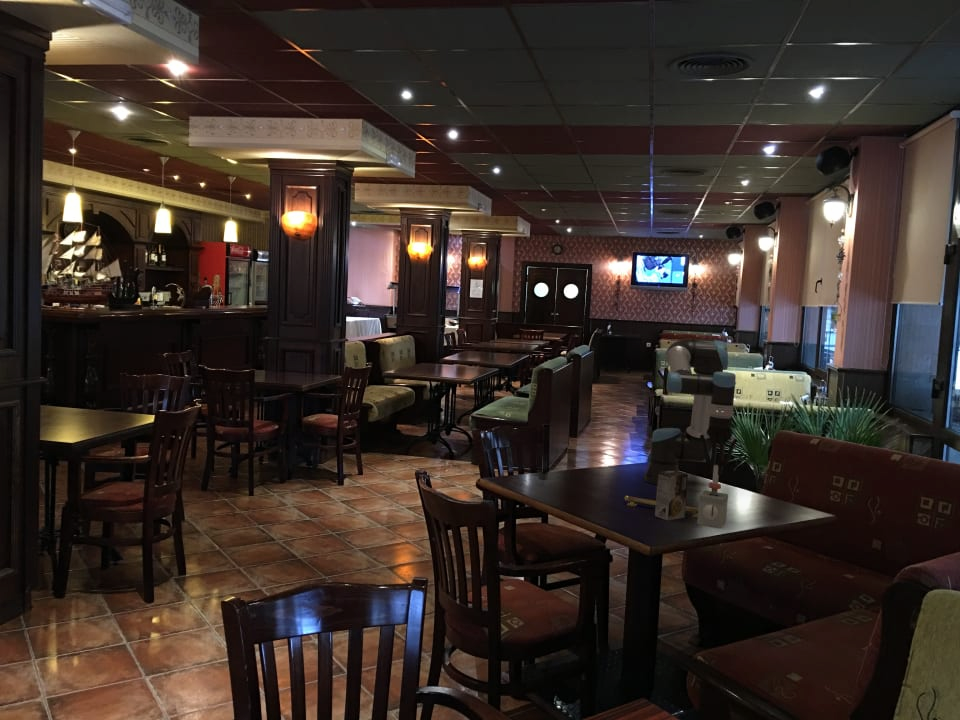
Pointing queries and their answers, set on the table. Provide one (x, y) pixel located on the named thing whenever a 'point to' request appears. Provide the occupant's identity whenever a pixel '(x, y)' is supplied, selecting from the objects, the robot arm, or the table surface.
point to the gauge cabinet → (712, 509)
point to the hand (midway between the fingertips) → (715, 483)
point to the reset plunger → (714, 488)
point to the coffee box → (671, 495)
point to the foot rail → (651, 502)
